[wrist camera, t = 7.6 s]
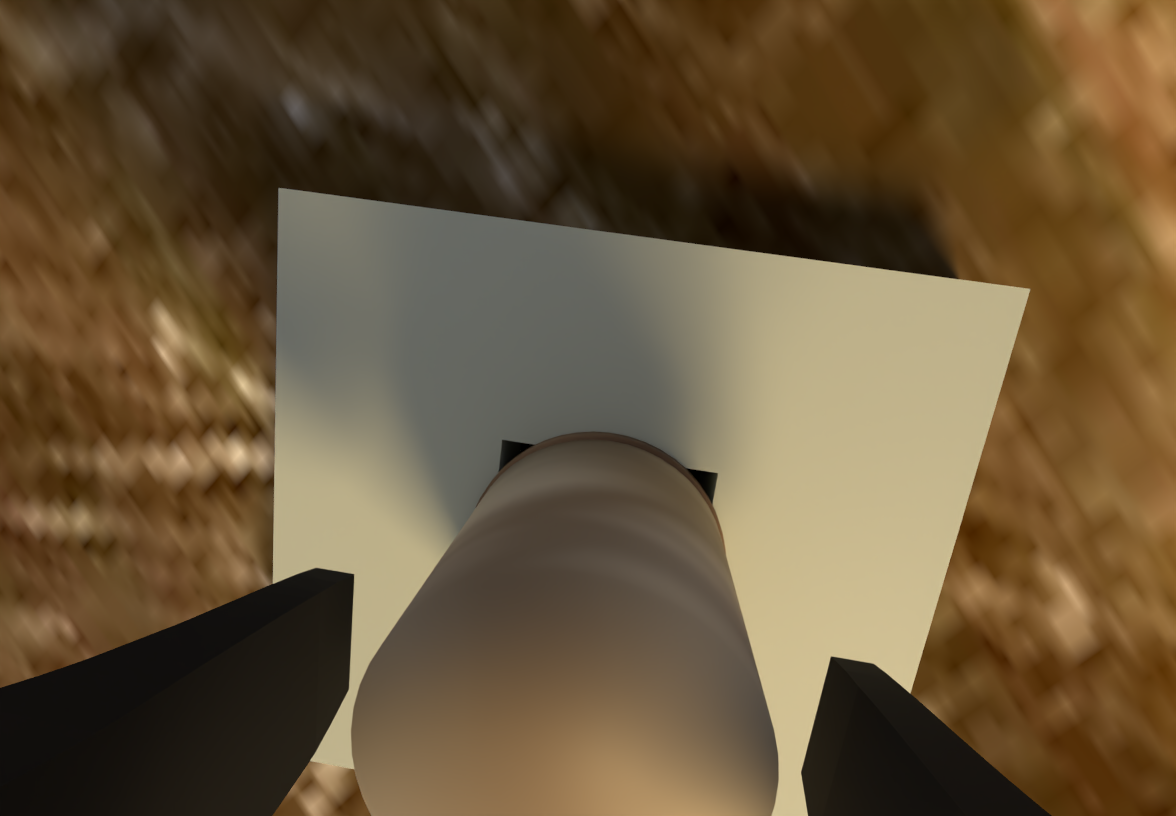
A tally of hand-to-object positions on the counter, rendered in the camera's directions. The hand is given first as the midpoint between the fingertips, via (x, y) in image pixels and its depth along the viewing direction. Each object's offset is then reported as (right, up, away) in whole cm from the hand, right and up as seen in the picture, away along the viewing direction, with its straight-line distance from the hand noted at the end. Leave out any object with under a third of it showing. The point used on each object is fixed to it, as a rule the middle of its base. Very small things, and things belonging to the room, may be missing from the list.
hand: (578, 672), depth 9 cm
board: (+1, +1, +6) cm, 6 cm away
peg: (0, +1, +6) cm, 6 cm away
